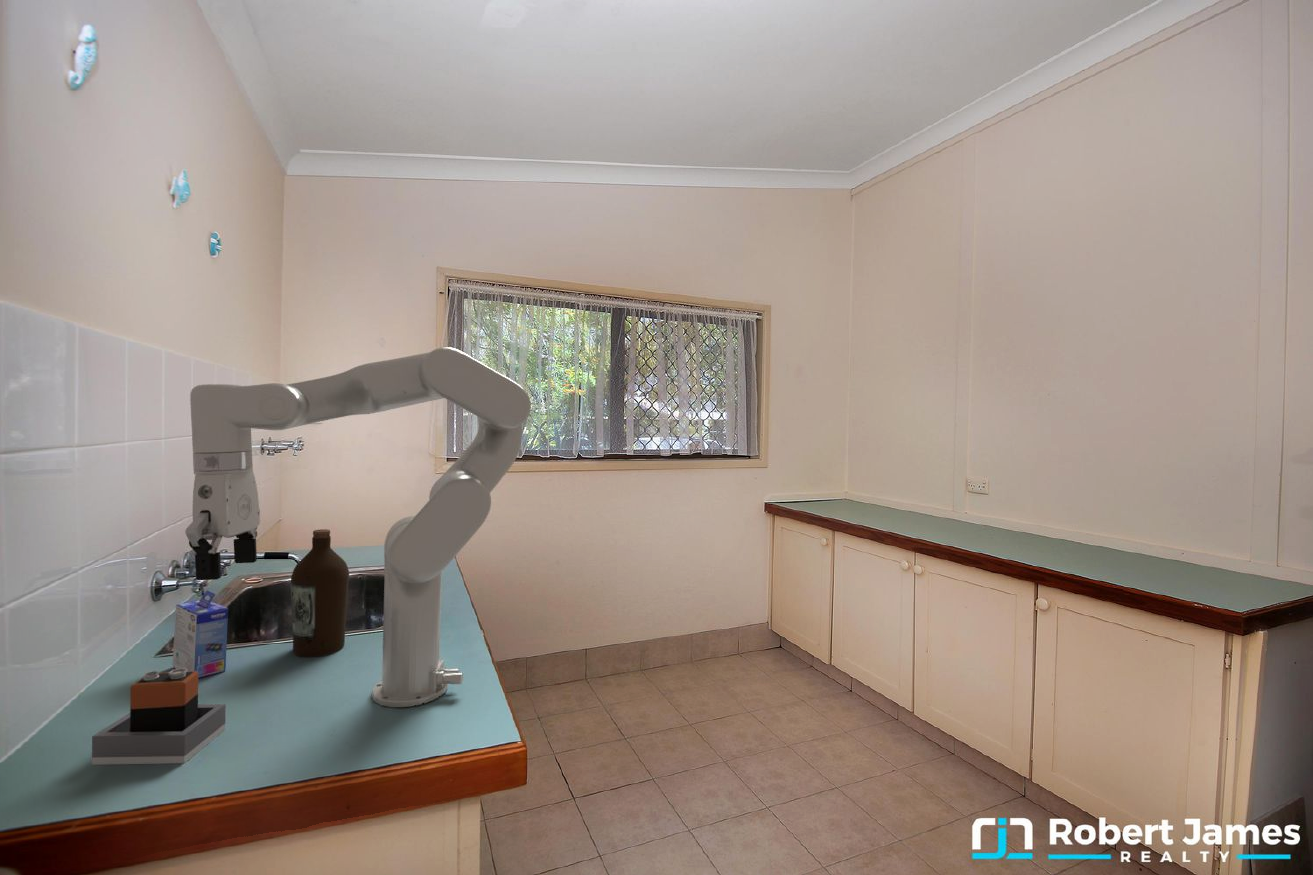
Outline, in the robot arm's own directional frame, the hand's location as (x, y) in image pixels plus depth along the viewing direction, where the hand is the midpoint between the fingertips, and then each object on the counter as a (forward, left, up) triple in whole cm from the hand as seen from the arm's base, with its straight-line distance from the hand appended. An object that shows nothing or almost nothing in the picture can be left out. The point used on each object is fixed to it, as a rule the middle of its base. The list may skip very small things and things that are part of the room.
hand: (228, 570), depth 94 cm
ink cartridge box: (+16, -20, -25) cm, 36 cm away
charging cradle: (+4, +7, -24) cm, 26 cm away
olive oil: (-1, -30, -25) cm, 39 cm away
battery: (+4, +7, -23) cm, 25 cm away
